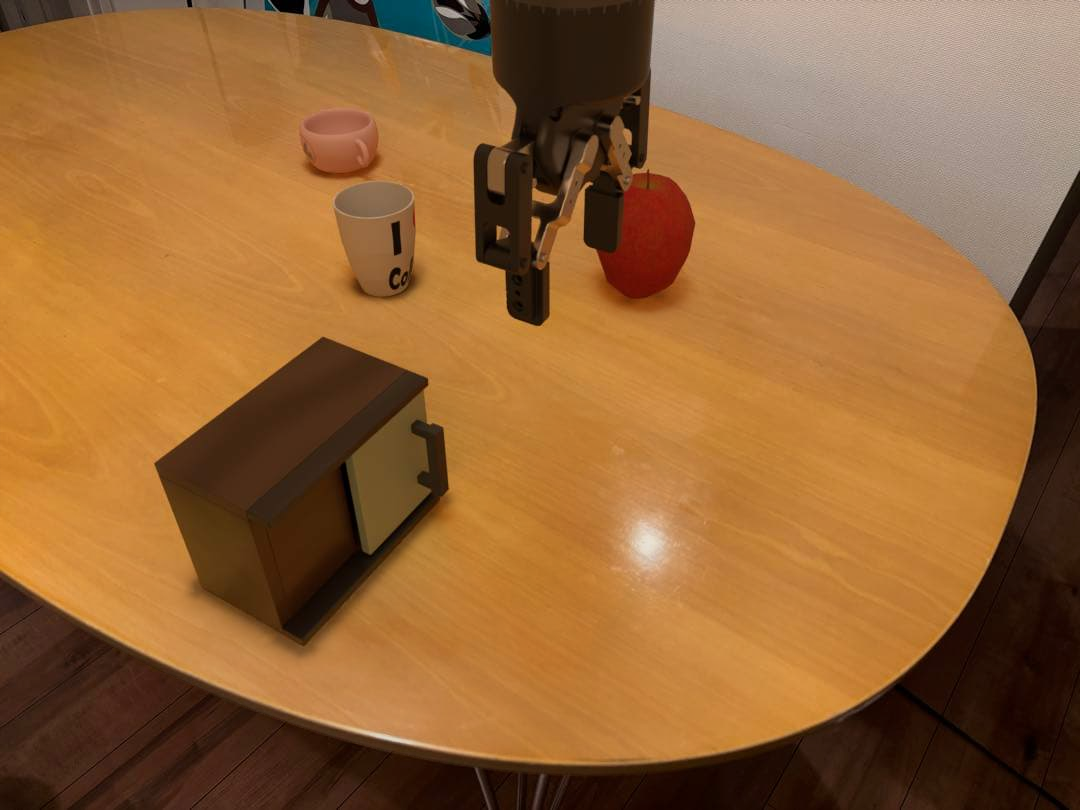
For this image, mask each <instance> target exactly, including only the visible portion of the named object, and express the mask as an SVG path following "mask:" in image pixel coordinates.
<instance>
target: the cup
mask: <svg viewBox="0 0 1080 810" xmlns="http://www.w3.org/2000/svg"><path fill="white" fill-rule="evenodd" d="M415 205H416V204H415V193H414V192H413V190H412V189H411V188H410V187H408V186H407V185H405V184H402V183H399V182H395V181H388V180H369V181H364V182H358V183H354V184H351V185H349V186H347V187H345V188H342V189H341V190H339V191H338V192H337V193H336V194H335V195H334V197H333V198H332V206H333V210H334V211H333V212H334V215H335V219H336V224H337V228H338V232H339V237H340V240H341V243H342V247H343V249H344V252H345V254H346V258H347V261H348V263H349V266H350V268H351V271H352V273H353V275H354V277H355V278H356V280H357V283H358V284H359V286H360V288H361V289H362V291H363V292H365V293H366V294H367V295H370V296H374V297H379V298H380V297H384V298H385V297H391V296H396V295H398V294H400V293H402V292H403V291H405V290H406V289H407V288H408V286H409V283H410V279H411V274H412V271H413V267H414V262H415V261H414V259H415V246H416V236H417V234H416V233H417V232H416V206H415Z"/></svg>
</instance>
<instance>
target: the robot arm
mask: <svg viewBox="0 0 1080 810" xmlns="http://www.w3.org/2000/svg"><path fill="white" fill-rule="evenodd" d="M655 4H656V0H489V16H490V35H491V36H490V41H491V63H492V64H491V65H492V66H491V67H492V75H493V77H494V80H495V82H496V83H497V84H498V85H499V86H500V88H502V89H503V90H504V91H505V93H506V94H507V95H508V96H509V97H510V98H511V100H512V102H513V103H514V105H515V115H514V124H513V128H512V132H511V139H510V140H509V141H508V142H506V143H505V144H503V145H501V146H497V145H492V144H488V143H485V142H484V143H483V142H481V143H480V144H478V145H477V147H476V148H475V151H474V153H473V160H472V161H473V164H472V165H473V205H474V245H475V247H474V249H475V251H474V252H475V259H476V262H478V263H480V264H483V265H487V266H489V267H493V268H496V269H500V270H501V271H502V270H503V271H504V275H505V276H504V277H505V278H504V279H505V298H506V300H505V301H506V302H505V303H506V310H507V313H508V315H509V316H510V317H511V318H513V319H514V320H517V321H519V322H523V323H525V324H529V325H532V326H534V327H540V326H542V325H543V324H544V323H545V322H546V321H547V320H548V319H549V318H550V313H551V312H550V309H551V306H550V305H551V304H550V303H551V299H550V298H551V297H550V296H551V292H550V290H551V289H550V288H551V287H550V286H551V281H550V280H551V279H550V278H551V277H550V275H551V273H550V271H551V270H550V269H551V267H550V266H551V265H550V263H551V262H550V261H549V259H550V256H551V252H552V250H553V246H554V243H555V241H556V237H557V234H558V231H559V229H560V228H562V227H565V226H567V225H568V224H569V223H570V222H571V219H572V216H573V213H574V210H575V207H576V203H577V200H578V198H579V194H580V192H581V191H582V190H583V188H584V187H585V185H586V184H588V183H592V184H589V185H588V186H586V187H585V188H584V201H583V202H584V205H583V237H582V238H583V239H582V240H583V243H584V244H585V246H586V247H588V248H590V249H593V250H595V251H596V250H600V251H603V252H607V253H614V252H615V251H616V250H617V249H618V248H619V247H620V246H621V243H622V227H623V210H624V194H625V193H623V191H627V190H628V189H629V188H630V186H631V183H632V178H633V174H634V172H633V169H634V168H635V169H639V170H641V169H642V168H643V167H644V166H645V164H646V162H647V157H648V142H649V122H650V102H651V85H652V84H651V81H652V67H651V59H652V45H653V33H654V32H653V31H654V20H655V19H654V17H655ZM625 129H626V130H628V131H629V132H630V133H631V140H630V141H631V143H630V144H629V143H628V142H627V141H628V140H627V138H626V137H625V136H626V135H625V134H624V130H625ZM534 189H535V190H537V191H538V192H540V193H543V194H547V195H551V196H555V198H554V200H553V201H552V202H550V203H545V202H543V201H538V200H535V199H533V190H534ZM533 218H534V219H536V220H537V219H538V220H539V225H538V229H537V232H536V236H535V238H534V241H532V234H533V233H532V231H533V230H532V228H533V227H532V226H533ZM498 227H499V228H501V229H500V233H499V236H498Z"/></svg>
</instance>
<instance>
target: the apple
mask: <svg viewBox="0 0 1080 810" xmlns="http://www.w3.org/2000/svg"><path fill="white" fill-rule="evenodd" d="M623 193H625V194H624V210H623V227H622V243H621V246H620V247H619V248H618V249H617V250H616V251H615V252H614V253H607V252H603V251H600V250H596V249H595V251H596V254H597V257H598V259H599V263H600V265H601V268H602V272H603V274H604V277H605V280H606V283H608V285H610V286H611V287H613V288H614V289H615V290H616V291H617V292H619V293H620V295H623V296H624V297H625V298H629V299H631V300H632V299H635V300H640V299H646V298H649V297H652V296H654V295H656V294H658V293H660V292H662V291H665V290H666V289H668V288H670V286H672V285H673V284H674V283H675V281H676V279H677V277H678V275H679V274H680V272H681V270H682V269H683V267H684V265H685V263H686V261H687V260H688V257H689V254H690V253H691V248H692V243H693V237H694V233H695V227H696V219H695V216H694V213H693V210H692V206H691V202H690V201H689V198H688V197H687V195H686V193H685V192H684V191H683V189H682V188H681V187H680V186H679V184H678V183H677V182H676V181H675V180H673V179H672V178H671V177H669V176H665V175H662V174H658V173H652V172H650V168H648V169H646V172H637V173H633V178H632V183H631V186H630V188H629V189H628V190H627V191H623Z"/></svg>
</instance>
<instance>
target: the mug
mask: <svg viewBox="0 0 1080 810" xmlns="http://www.w3.org/2000/svg"><path fill="white" fill-rule="evenodd" d="M298 128H299V130H298V131H299V132H298V133H299V140H300V144H301V148H302V151H303V153H304V154H305V156H306V157H307V159H308V160H309V162H310V164H311V165H313V166H314V167H315V168H316V169H317V170H320V171H322V172H326V173H331V174H332V173H333V174H345V173H352V172H353V173H354V172H356V171H360V170H362V169H364V168H367V167H368V166H369V165H370V164H371V163H372V161H373V160H374V158H375V156H376V153H377V149H378V146H379V131H378V126H377V123H376V120H375V118H374V117H373V116H372V114H370V113H369V112H367V111H366V110H362V109H359V108H354V107H331V108H324V109H320V110H318V111H315V112H312V113H310V114H308V115H307V116H305V117H304V118H303V119H302V120H301V122H300V124H299V127H298Z"/></svg>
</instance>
